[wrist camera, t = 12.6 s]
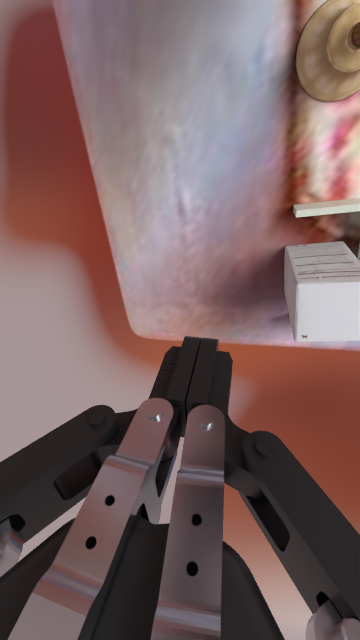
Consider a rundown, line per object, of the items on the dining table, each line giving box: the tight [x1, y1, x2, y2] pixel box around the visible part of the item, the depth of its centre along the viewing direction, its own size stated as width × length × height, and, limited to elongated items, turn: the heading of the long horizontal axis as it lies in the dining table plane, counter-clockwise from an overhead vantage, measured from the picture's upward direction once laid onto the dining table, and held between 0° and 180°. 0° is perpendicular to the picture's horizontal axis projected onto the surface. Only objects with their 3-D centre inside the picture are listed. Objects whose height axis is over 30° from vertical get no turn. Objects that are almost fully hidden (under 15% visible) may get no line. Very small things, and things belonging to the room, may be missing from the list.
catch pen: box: [289, 198, 360, 328], centre depth 40 cm, size 9×17×3 cm, turn 9°
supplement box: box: [284, 241, 360, 342], centre depth 37 cm, size 7×7×13 cm
